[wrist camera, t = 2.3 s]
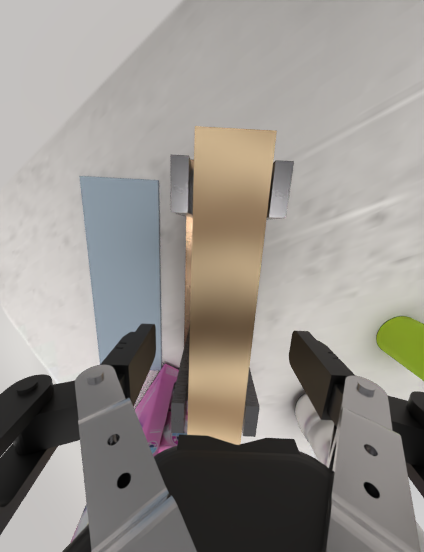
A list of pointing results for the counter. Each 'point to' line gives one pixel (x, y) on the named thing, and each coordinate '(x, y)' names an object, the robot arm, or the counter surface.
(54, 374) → the counter surface
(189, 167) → the hook rack
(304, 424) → the plastic bottle
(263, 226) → the oak rail
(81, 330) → the counter surface
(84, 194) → the slate mat
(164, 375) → the gum box
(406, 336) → the soap dispenser
